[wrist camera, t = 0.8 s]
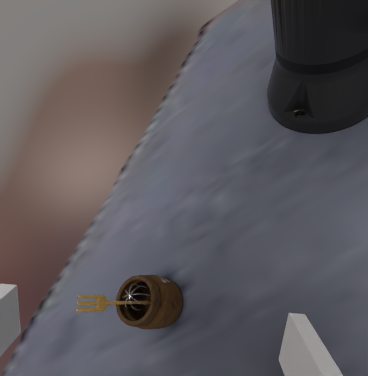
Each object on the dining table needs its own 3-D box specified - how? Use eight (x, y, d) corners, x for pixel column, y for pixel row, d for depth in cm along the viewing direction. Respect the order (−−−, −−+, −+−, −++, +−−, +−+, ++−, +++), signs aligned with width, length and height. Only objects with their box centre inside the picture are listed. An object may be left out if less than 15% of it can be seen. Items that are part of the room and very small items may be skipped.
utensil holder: (187, 323, 29) (132, 328, 20) (143, 331, 31) (73, 339, 21) (181, 274, 32) (130, 257, 23) (141, 283, 34) (79, 272, 24)
